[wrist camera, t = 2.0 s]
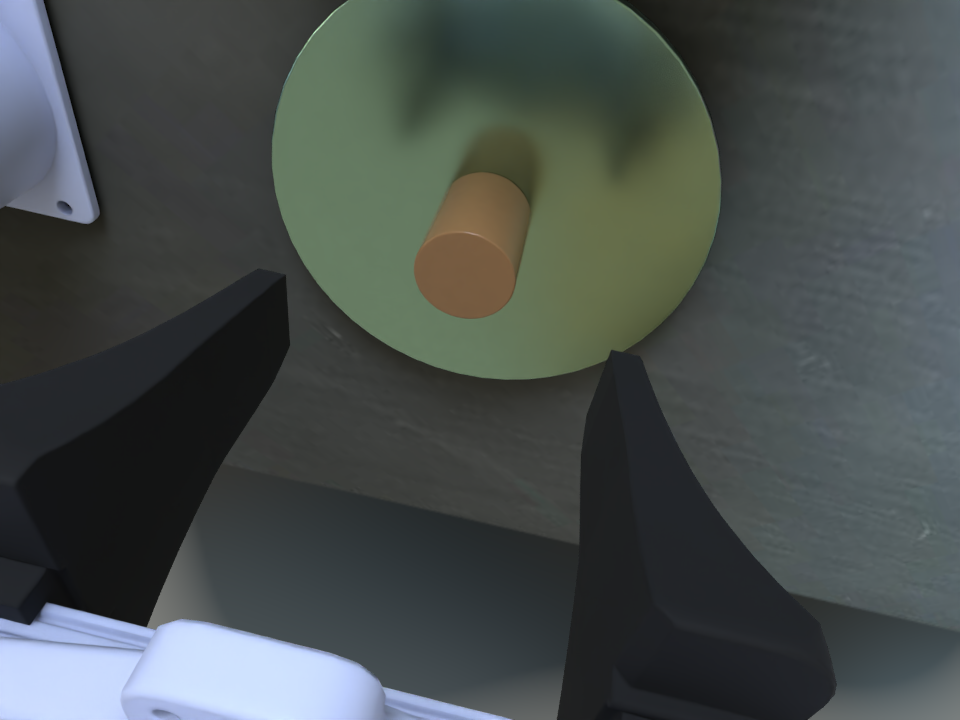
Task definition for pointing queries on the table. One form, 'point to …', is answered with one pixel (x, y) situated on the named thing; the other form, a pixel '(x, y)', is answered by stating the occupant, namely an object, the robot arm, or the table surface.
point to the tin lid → (497, 178)
